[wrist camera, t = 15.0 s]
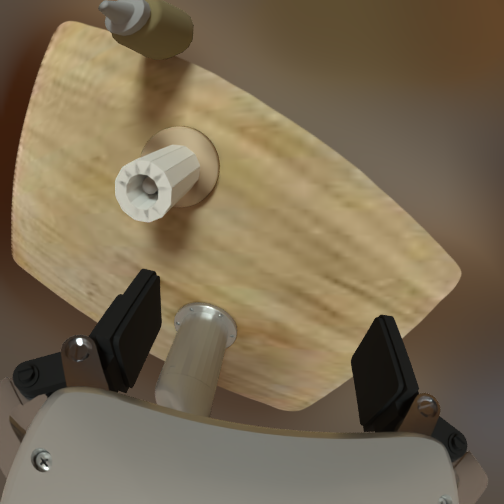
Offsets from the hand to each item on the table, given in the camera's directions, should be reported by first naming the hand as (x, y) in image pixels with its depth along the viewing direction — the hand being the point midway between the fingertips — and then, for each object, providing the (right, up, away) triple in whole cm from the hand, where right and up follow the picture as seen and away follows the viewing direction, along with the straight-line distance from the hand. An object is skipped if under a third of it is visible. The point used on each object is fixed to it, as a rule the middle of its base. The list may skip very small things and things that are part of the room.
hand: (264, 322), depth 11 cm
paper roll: (-11, +15, +26) cm, 32 cm away
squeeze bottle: (-11, +33, +18) cm, 39 cm away
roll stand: (-11, +15, +28) cm, 33 cm away
